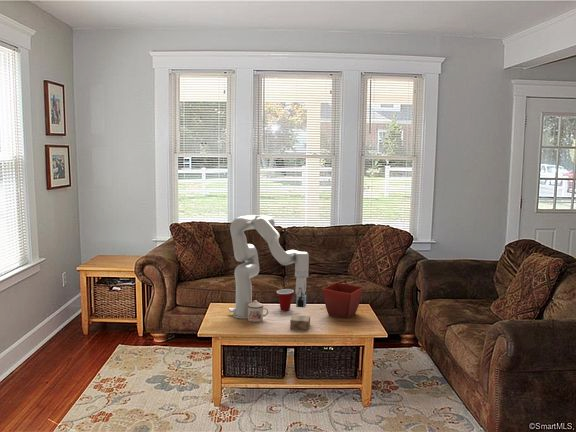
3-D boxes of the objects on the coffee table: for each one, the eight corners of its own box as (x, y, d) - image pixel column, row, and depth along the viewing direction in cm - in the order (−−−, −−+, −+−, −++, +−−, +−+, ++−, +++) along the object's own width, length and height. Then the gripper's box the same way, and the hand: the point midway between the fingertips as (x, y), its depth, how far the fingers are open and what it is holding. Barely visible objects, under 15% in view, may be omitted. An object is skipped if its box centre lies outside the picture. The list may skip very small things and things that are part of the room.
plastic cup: (275, 306, 342) (275, 288, 341) (292, 306, 343) (292, 288, 342) (276, 311, 331) (277, 292, 330) (294, 311, 333) (294, 292, 331)
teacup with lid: (247, 322, 310) (247, 302, 309) (248, 317, 319) (248, 298, 318) (267, 322, 310) (268, 302, 309) (268, 317, 319) (268, 298, 318)
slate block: (296, 307, 300) (296, 296, 300) (297, 304, 305) (297, 294, 305) (305, 307, 300) (305, 297, 299) (306, 305, 305) (306, 294, 304)
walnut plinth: (290, 328, 300) (290, 320, 299) (292, 323, 310) (292, 314, 309) (307, 330, 298) (308, 321, 298) (309, 324, 308) (310, 316, 308)
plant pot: (349, 321, 316) (350, 293, 314) (320, 315, 326) (321, 288, 324) (362, 313, 332) (363, 287, 330) (335, 308, 342) (335, 282, 340)
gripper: (297, 270, 309) (296, 301, 311) (292, 276, 293) (292, 309, 295) (310, 271, 308) (309, 302, 310) (306, 277, 292) (305, 310, 294)
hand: (301, 305), depth 302 cm, fingers closed on slate block, 5 cm apart
